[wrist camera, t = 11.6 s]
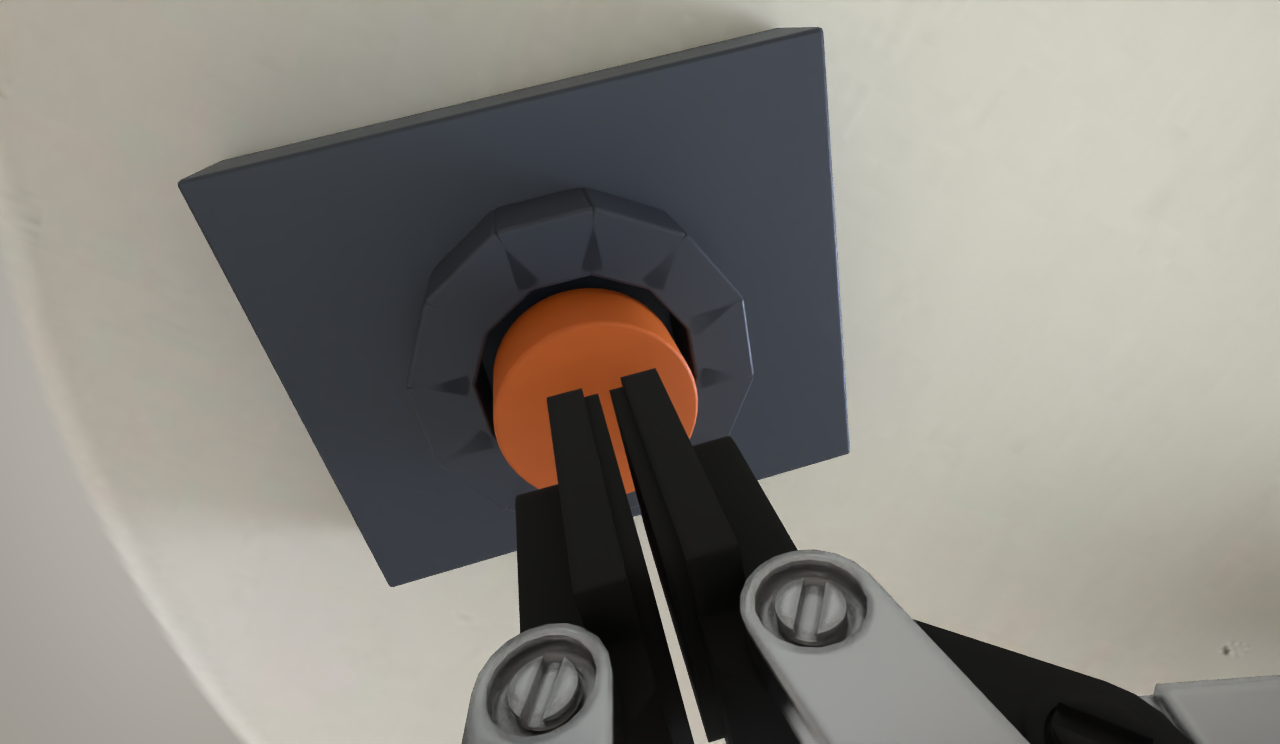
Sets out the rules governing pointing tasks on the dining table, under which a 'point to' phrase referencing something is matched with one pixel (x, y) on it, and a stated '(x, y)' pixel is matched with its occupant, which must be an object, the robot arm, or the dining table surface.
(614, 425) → the button
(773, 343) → the block
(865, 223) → the dining table surface
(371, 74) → the dining table surface
